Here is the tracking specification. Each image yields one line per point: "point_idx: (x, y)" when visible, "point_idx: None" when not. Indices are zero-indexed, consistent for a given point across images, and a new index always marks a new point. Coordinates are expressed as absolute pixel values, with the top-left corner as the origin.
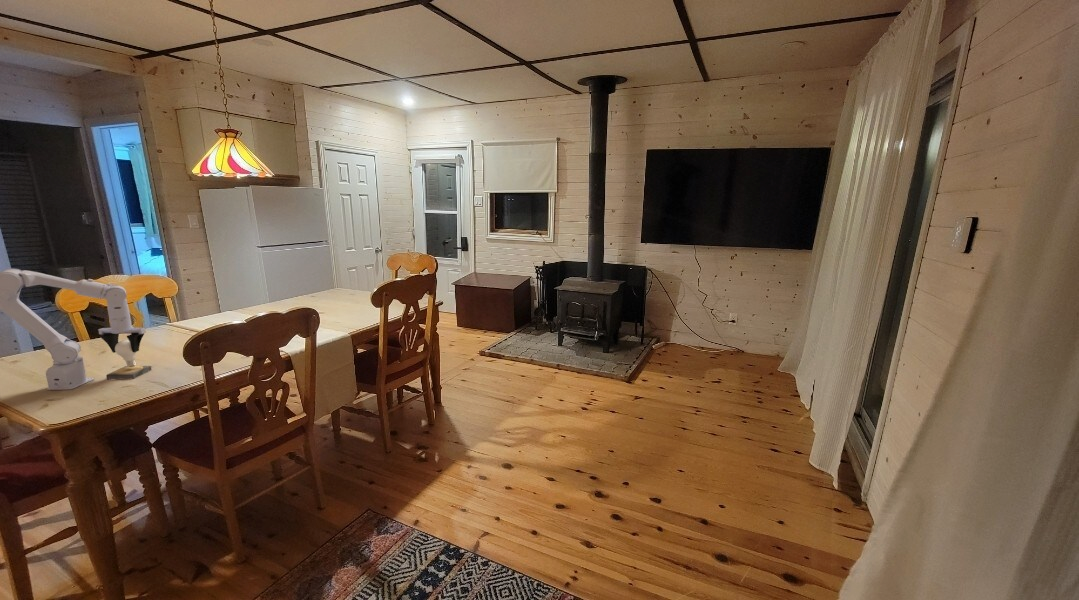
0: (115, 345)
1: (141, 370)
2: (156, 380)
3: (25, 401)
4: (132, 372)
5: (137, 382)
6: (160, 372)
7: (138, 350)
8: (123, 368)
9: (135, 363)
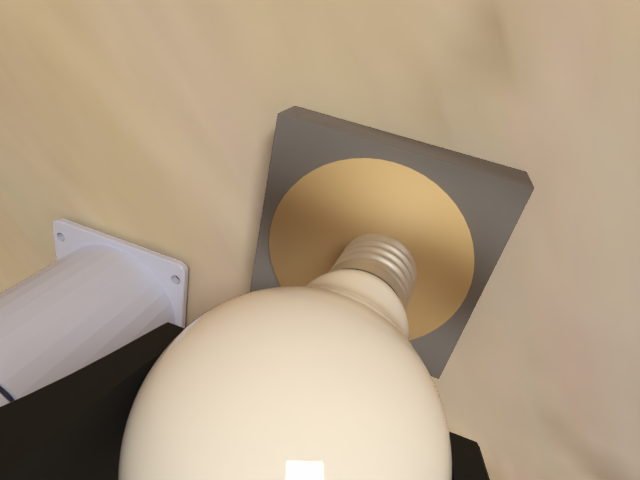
0: (112, 440)
1: (475, 301)
2: (620, 453)
3: None
4: (419, 336)
5: (490, 431)
6: (629, 278)
7: (478, 458)
8: (299, 204)
9: (413, 284)
